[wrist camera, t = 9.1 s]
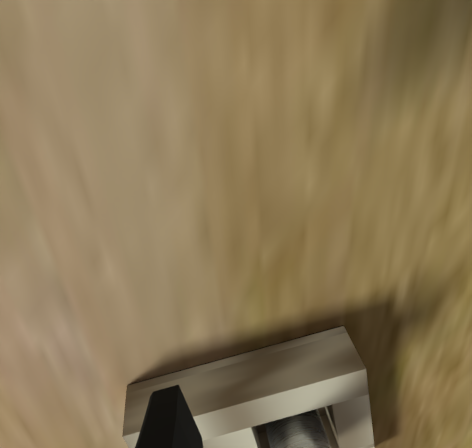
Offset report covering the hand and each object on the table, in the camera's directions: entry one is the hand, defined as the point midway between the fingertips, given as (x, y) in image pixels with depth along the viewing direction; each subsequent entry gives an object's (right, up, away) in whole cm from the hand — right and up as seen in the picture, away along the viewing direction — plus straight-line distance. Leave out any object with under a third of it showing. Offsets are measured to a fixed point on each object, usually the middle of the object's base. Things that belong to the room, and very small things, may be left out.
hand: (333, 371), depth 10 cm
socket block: (-1, -9, +16) cm, 18 cm away
